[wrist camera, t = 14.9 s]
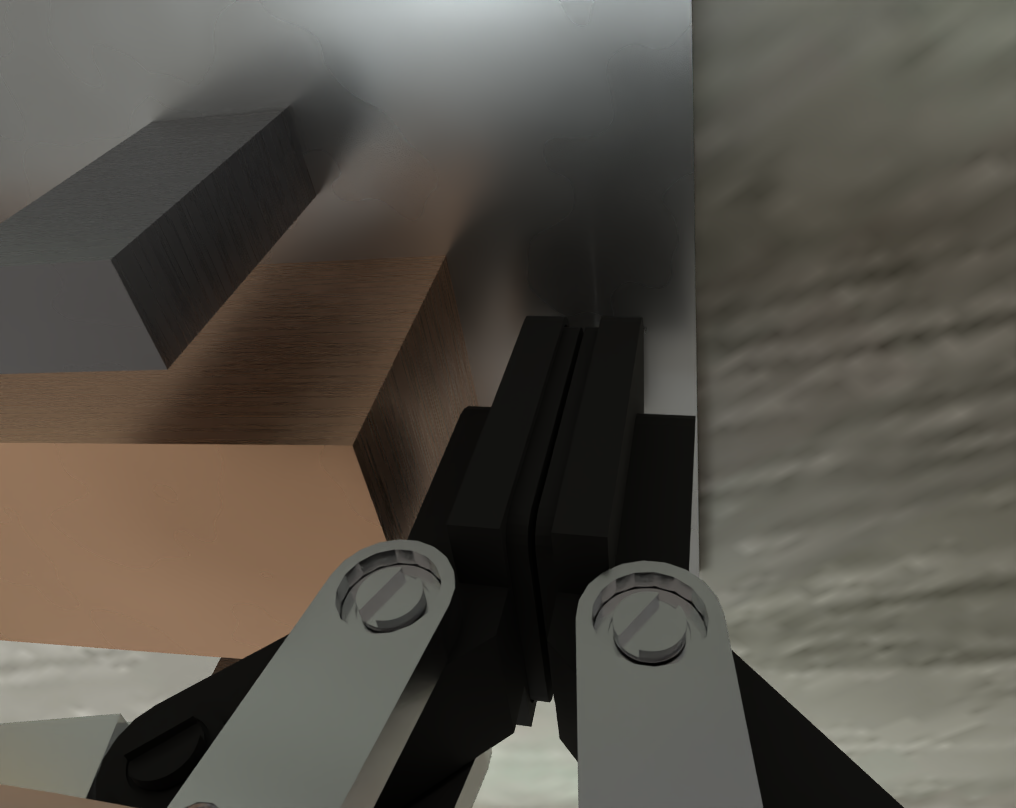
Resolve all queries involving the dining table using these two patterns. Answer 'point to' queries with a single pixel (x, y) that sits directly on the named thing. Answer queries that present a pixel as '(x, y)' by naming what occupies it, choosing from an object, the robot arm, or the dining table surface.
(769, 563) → the dining table surface
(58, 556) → the wooden beam
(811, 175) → the dining table surface
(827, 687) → the dining table surface
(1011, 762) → the dining table surface
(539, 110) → the plate
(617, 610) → the robot arm
